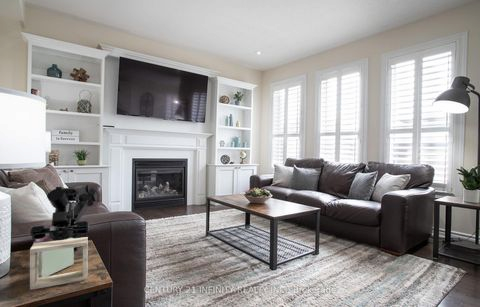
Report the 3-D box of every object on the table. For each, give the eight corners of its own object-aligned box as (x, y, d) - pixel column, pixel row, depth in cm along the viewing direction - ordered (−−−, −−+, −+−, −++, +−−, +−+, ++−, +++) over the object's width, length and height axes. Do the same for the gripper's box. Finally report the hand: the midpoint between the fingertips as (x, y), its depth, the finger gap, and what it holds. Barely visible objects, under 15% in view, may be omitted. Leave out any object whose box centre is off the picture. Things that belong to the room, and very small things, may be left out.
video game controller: (45, 248, 123) (37, 235, 122) (56, 242, 125) (47, 230, 123) (38, 256, 114) (29, 242, 113) (49, 250, 115) (40, 237, 114)
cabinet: (34, 281, 90) (33, 243, 90) (87, 272, 97) (87, 236, 97) (30, 289, 85) (29, 249, 85) (86, 279, 92) (86, 242, 92)
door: (35, 277, 92) (35, 248, 92) (68, 262, 104) (68, 237, 103) (41, 278, 91) (41, 249, 91) (73, 263, 103) (73, 238, 103)
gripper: (31, 204, 101) (23, 243, 91) (88, 201, 109) (87, 236, 99) (36, 220, 108) (29, 258, 98) (89, 215, 116) (87, 250, 107)
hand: (59, 250), depth 100 cm, fingers closed
